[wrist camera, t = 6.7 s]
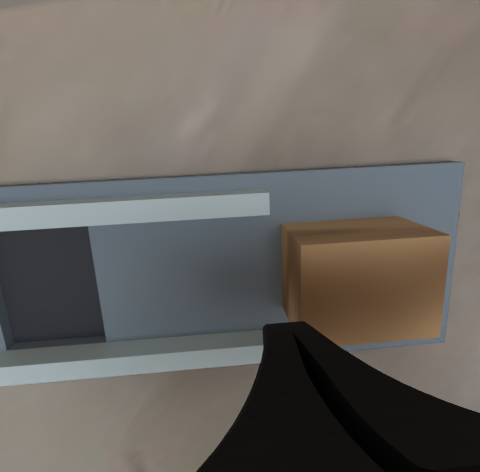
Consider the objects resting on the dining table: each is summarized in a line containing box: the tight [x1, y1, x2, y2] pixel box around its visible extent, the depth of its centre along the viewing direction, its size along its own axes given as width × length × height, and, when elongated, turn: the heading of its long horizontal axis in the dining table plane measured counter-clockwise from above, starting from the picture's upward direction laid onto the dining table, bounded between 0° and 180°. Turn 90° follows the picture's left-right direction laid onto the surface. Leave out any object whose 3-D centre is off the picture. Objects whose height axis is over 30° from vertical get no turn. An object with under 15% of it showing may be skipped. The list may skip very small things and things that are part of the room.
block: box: [281, 216, 451, 346], centre depth 16 cm, size 4×6×4 cm
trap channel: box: [0, 161, 465, 386], centre depth 17 cm, size 10×25×2 cm, turn 93°
